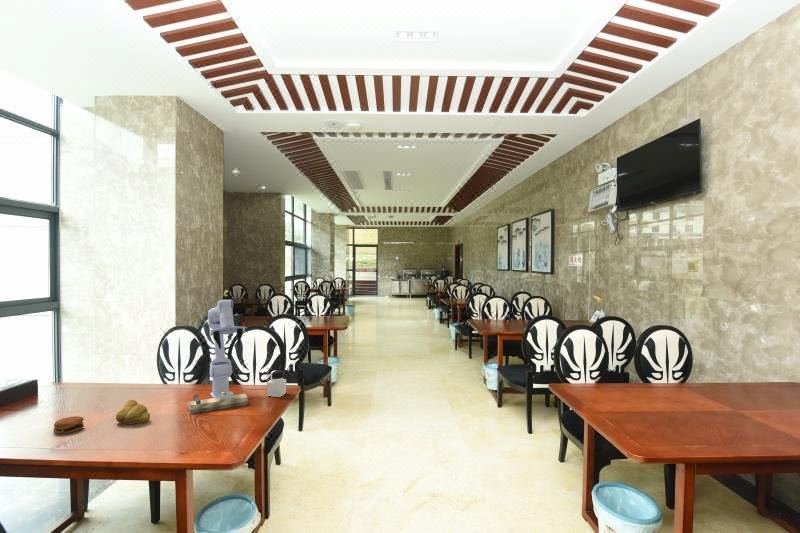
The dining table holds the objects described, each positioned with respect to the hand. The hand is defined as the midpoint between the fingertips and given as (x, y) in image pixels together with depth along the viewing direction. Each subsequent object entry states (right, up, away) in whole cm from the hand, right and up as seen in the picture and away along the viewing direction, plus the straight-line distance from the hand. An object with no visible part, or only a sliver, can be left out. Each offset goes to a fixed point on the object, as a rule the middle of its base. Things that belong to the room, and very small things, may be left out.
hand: (229, 346), depth 186 cm
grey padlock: (+13, -29, +25) cm, 41 cm away
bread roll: (-34, -29, -13) cm, 47 cm away
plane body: (-7, -29, +6) cm, 30 cm away
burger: (-54, -29, -22) cm, 65 cm away
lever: (-15, -28, +1) cm, 32 cm away
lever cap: (-5, -25, +8) cm, 27 cm away
